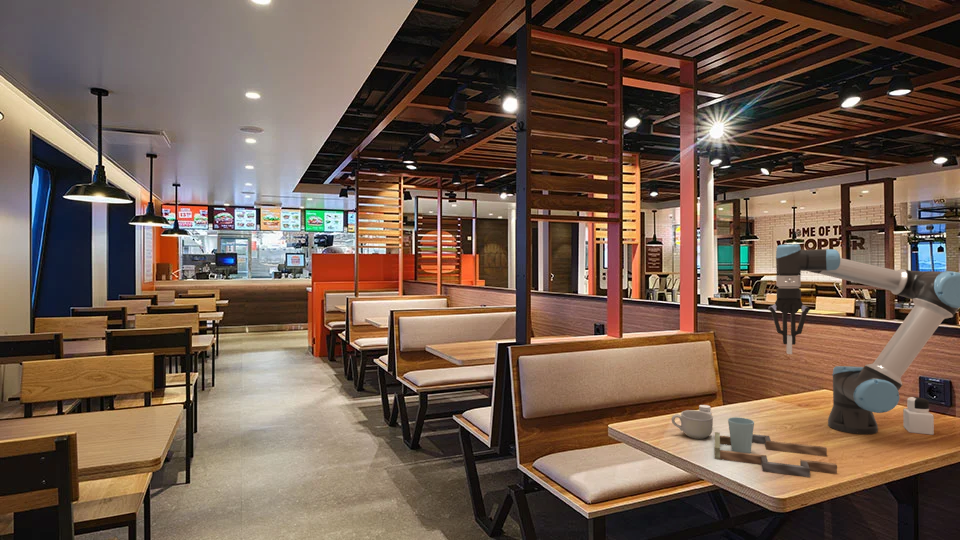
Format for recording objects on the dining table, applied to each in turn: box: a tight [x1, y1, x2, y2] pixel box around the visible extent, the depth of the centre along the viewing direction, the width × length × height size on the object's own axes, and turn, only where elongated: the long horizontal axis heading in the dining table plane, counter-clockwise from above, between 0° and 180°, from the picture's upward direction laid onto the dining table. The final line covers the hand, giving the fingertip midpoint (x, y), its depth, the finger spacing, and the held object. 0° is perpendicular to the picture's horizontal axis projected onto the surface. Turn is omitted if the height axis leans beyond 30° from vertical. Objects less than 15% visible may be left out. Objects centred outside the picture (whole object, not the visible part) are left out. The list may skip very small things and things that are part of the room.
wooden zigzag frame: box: [714, 431, 838, 478], centre depth 168 cm, size 32×28×4 cm
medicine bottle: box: [902, 396, 935, 436], centre depth 191 cm, size 7×7×12 cm
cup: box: [727, 416, 755, 454], centre depth 172 cm, size 8×8×10 cm
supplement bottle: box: [698, 404, 713, 416], centre depth 198 cm, size 5×5×8 cm
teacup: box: [671, 409, 714, 440], centre depth 189 cm, size 14×11×8 cm
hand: (789, 353), depth 188 cm, fingers closed
